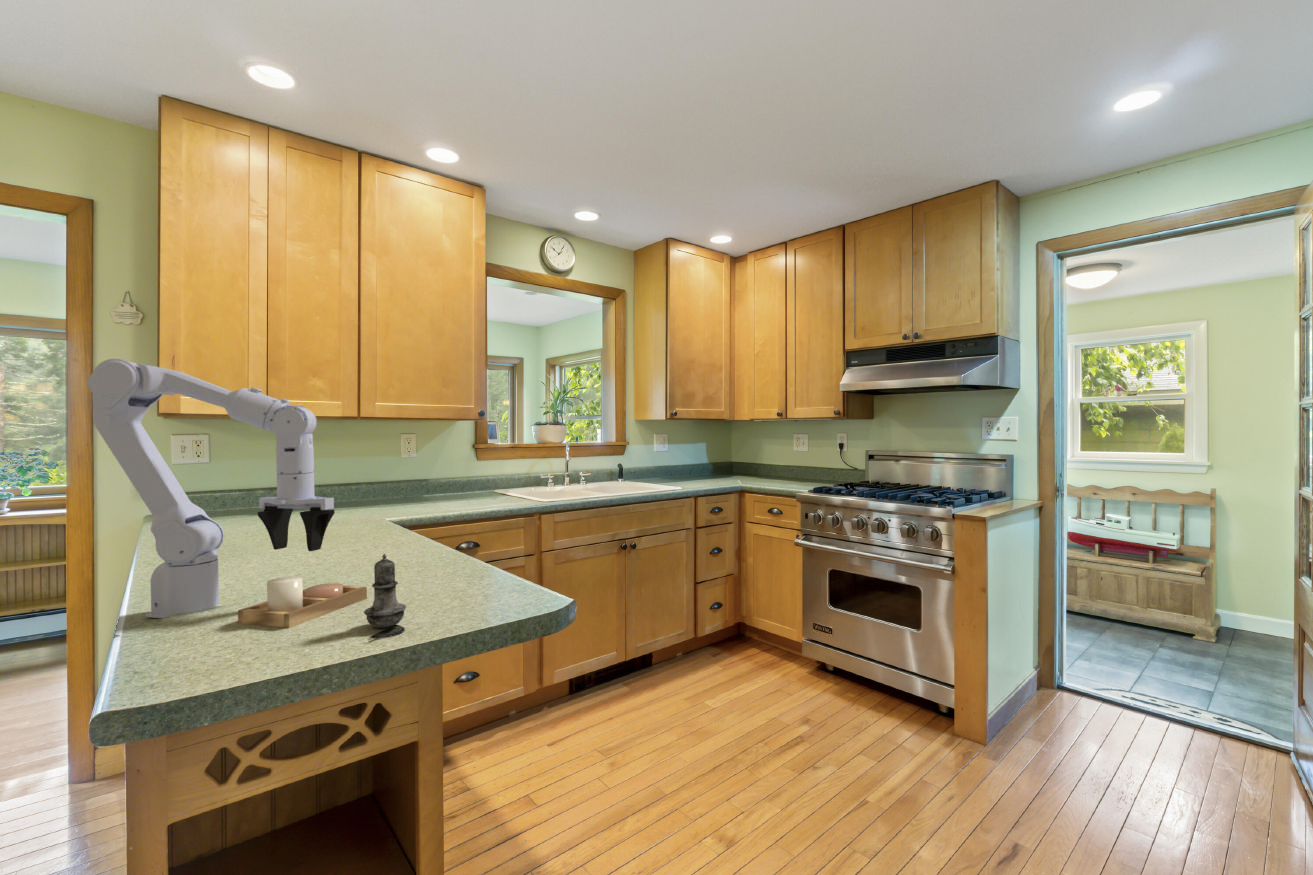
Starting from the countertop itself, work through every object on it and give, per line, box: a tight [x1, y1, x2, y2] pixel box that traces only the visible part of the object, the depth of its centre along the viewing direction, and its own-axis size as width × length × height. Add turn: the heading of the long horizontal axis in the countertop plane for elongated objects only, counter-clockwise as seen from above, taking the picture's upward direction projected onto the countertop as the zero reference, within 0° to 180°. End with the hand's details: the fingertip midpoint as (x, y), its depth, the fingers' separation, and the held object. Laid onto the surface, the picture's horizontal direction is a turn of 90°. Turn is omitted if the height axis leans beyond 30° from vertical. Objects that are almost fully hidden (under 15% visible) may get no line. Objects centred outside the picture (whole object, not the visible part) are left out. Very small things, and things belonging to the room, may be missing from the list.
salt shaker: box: [363, 553, 407, 639], centre depth 90 cm, size 6×6×12 cm
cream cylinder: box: [266, 575, 304, 612], centre depth 94 cm, size 5×5×6 cm
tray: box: [237, 585, 368, 629], centre depth 98 cm, size 10×16×3 cm, turn 165°
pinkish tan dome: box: [305, 582, 344, 599], centre depth 102 cm, size 6×6×3 cm
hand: (297, 549), depth 105 cm, fingers open, 7 cm apart
